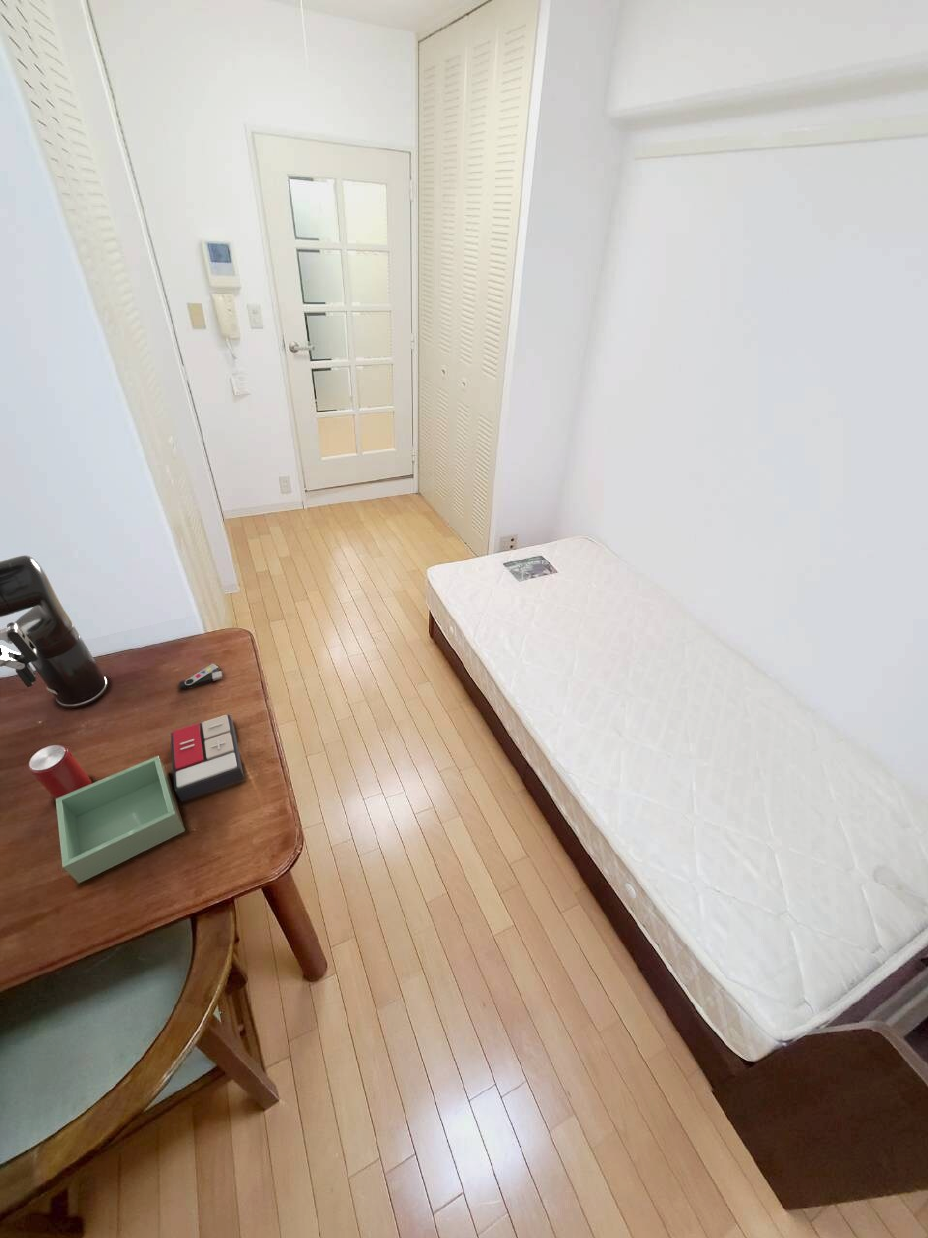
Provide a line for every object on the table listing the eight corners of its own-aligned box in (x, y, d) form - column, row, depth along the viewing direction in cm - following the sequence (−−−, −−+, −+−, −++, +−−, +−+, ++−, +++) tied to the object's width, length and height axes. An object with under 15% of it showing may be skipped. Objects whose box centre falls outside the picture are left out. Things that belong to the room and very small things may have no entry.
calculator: (229, 711, 103) (239, 766, 92) (234, 725, 106) (244, 780, 95) (169, 729, 99) (172, 789, 88) (176, 743, 102) (180, 803, 91)
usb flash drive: (181, 691, 111) (179, 688, 111) (179, 675, 115) (178, 672, 114) (222, 679, 114) (221, 676, 114) (220, 664, 118) (219, 661, 117)
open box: (71, 817, 88) (55, 799, 84) (169, 774, 96) (158, 755, 92) (80, 885, 80) (62, 867, 76) (186, 832, 87) (174, 814, 83)
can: (55, 787, 92) (26, 753, 86) (91, 773, 95) (65, 738, 88) (58, 811, 89) (27, 777, 82) (94, 795, 92) (68, 761, 85)
